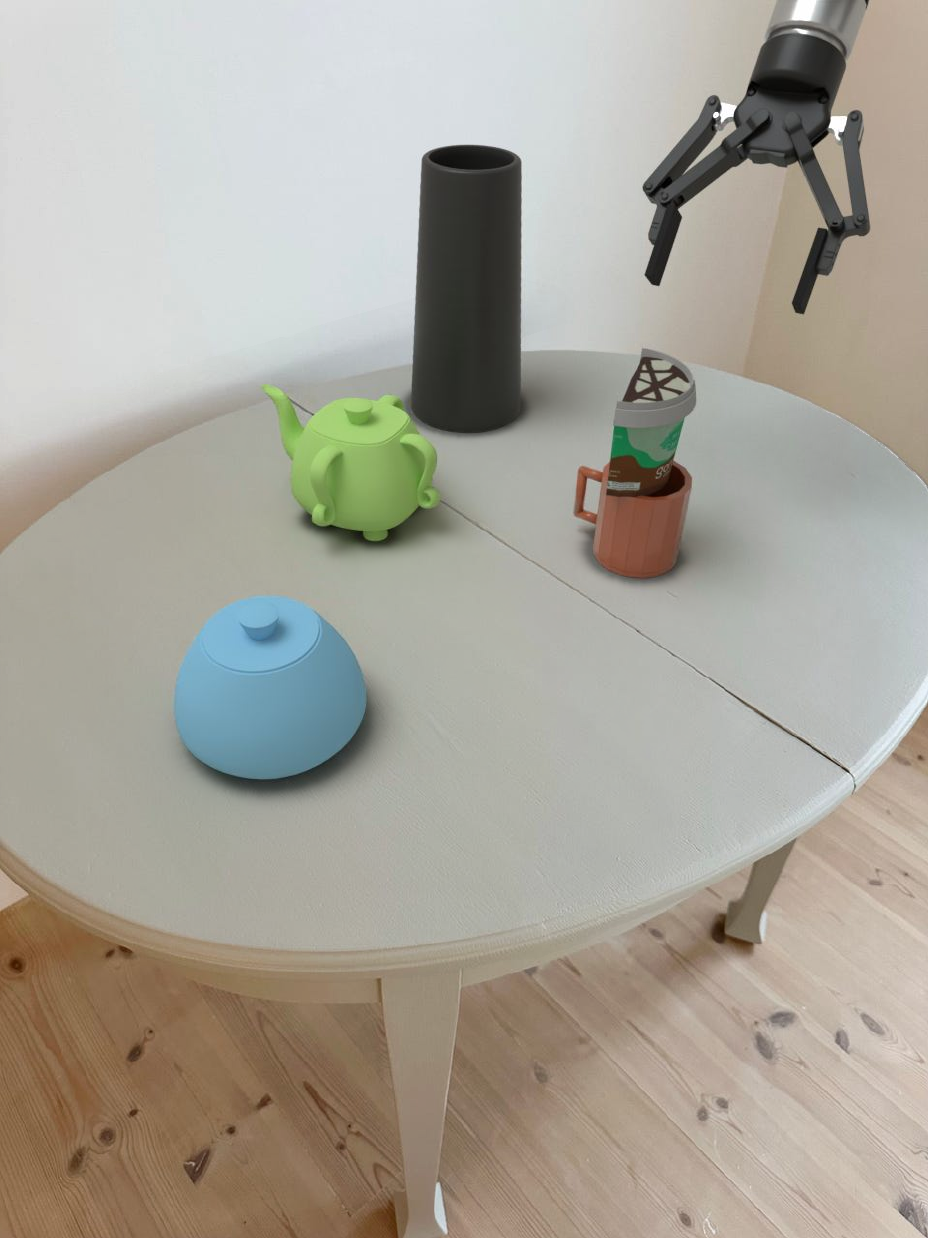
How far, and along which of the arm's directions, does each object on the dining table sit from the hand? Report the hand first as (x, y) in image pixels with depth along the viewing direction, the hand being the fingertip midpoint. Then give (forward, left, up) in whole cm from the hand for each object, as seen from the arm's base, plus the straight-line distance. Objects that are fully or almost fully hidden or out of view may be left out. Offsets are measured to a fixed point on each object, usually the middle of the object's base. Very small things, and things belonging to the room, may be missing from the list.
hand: (722, 294), depth 86 cm
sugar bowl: (+15, +46, -24) cm, 54 cm away
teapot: (+29, +18, -24) cm, 42 cm away
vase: (+32, -8, -24) cm, 41 cm away
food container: (+1, +8, -15) cm, 17 cm away
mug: (+3, +8, -24) cm, 26 cm away
